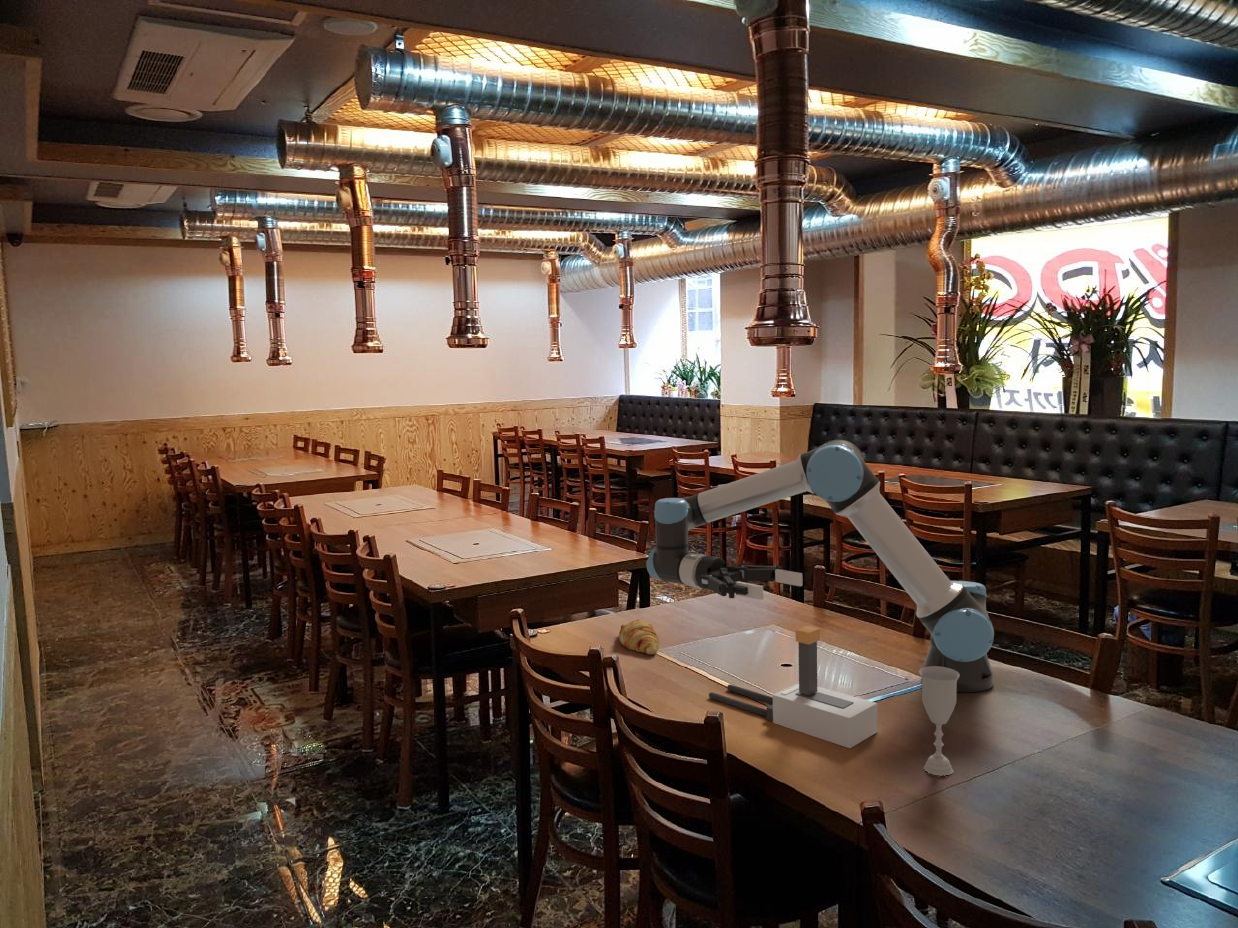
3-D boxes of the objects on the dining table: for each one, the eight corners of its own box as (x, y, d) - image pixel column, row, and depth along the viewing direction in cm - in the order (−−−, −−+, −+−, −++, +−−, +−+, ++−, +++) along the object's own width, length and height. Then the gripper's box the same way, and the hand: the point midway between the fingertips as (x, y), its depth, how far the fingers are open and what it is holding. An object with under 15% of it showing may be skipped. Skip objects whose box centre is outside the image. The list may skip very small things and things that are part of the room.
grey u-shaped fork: (705, 699, 194) (705, 687, 194) (731, 688, 200) (731, 677, 200) (774, 722, 180) (774, 709, 180) (799, 709, 186) (799, 697, 186)
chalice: (962, 780, 153) (963, 681, 151) (921, 778, 154) (921, 679, 152) (954, 761, 160) (955, 666, 158) (915, 759, 161) (916, 665, 159)
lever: (796, 692, 179) (795, 629, 177) (807, 687, 181) (806, 625, 180) (809, 696, 176) (808, 632, 175) (820, 691, 179) (819, 628, 178)
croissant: (665, 668, 225) (677, 640, 225) (633, 656, 221) (646, 627, 221) (632, 644, 244) (643, 617, 245) (602, 632, 240) (614, 605, 241)
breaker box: (773, 722, 180) (772, 693, 179) (801, 708, 187) (801, 680, 186) (850, 748, 167) (849, 717, 166) (877, 732, 174) (877, 702, 173)
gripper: (739, 577, 205) (816, 591, 190) (667, 599, 188) (745, 617, 173) (739, 546, 204) (816, 557, 189) (665, 565, 187) (744, 580, 172)
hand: (782, 586), depth 181 cm, fingers open, 13 cm apart
